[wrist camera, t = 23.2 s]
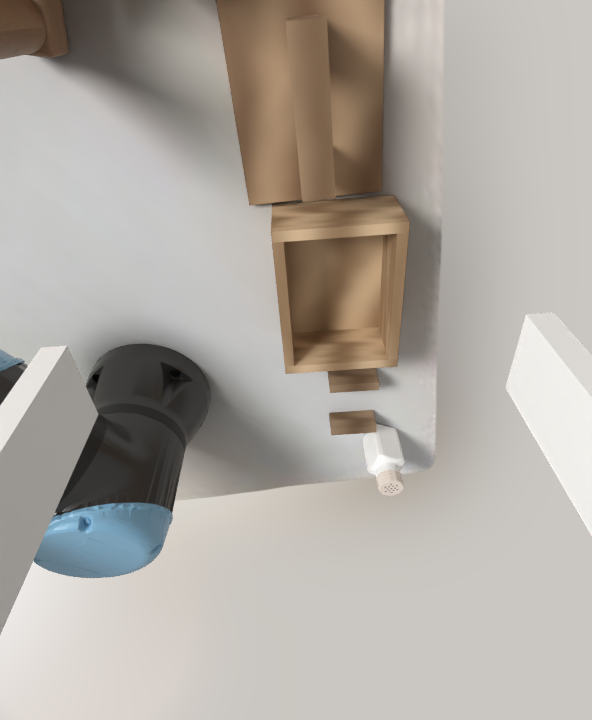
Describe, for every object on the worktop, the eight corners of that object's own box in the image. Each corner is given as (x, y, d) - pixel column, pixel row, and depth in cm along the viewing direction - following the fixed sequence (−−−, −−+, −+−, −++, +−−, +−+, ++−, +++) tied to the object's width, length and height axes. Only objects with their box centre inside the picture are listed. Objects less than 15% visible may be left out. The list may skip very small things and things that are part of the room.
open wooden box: (285, 336, 55) (285, 373, 50) (272, 204, 45) (271, 231, 40) (385, 329, 55) (397, 366, 49) (394, 194, 45) (409, 221, 40)
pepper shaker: (397, 427, 65) (412, 482, 58) (385, 445, 68) (398, 500, 60) (372, 420, 64) (384, 475, 57) (360, 439, 67) (370, 494, 59)
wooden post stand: (250, 201, 46) (243, 241, 38) (215, -18, 35) (196, -23, 28) (379, 187, 45) (400, 224, 37) (382, -39, 35) (410, -51, 27)
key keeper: (329, 419, 64) (331, 435, 62) (328, 370, 59) (330, 385, 56) (372, 416, 64) (376, 432, 61) (375, 367, 58) (379, 382, 56)
